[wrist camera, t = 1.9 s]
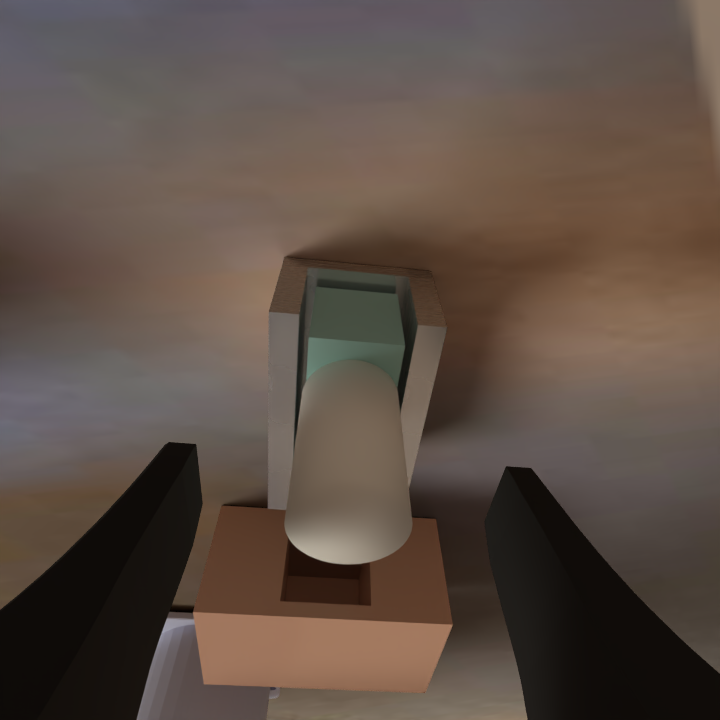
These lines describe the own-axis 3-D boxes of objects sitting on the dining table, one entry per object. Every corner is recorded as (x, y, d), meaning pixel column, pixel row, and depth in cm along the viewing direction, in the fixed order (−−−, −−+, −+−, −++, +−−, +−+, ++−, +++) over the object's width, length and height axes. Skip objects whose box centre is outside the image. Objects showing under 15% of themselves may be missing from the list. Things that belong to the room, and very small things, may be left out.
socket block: (414, 589, 27) (425, 693, 23) (227, 580, 27) (203, 684, 22) (435, 519, 24) (452, 624, 20) (221, 505, 23) (193, 612, 19)
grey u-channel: (395, 446, 21) (401, 517, 18) (280, 438, 21) (267, 508, 18) (431, 271, 17) (447, 327, 14) (284, 256, 16) (268, 311, 13)
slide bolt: (370, 468, 21) (377, 661, 15) (302, 463, 20) (279, 656, 14) (400, 294, 16) (428, 466, 10) (312, 285, 16) (286, 457, 10)
